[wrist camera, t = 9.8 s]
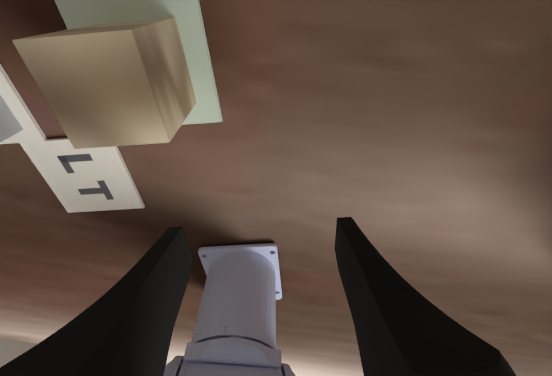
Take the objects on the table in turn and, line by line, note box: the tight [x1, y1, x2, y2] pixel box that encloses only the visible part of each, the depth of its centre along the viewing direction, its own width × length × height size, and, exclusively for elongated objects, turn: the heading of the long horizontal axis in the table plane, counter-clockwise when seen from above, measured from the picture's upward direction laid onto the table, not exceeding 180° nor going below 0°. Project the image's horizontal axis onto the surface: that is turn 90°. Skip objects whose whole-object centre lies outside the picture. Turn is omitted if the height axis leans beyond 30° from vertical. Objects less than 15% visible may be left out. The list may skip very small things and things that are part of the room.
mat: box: [54, 0, 223, 125], centre depth 17 cm, size 8×8×1 cm
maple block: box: [12, 17, 197, 149], centre depth 15 cm, size 5×5×6 cm
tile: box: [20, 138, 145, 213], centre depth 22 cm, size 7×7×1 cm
